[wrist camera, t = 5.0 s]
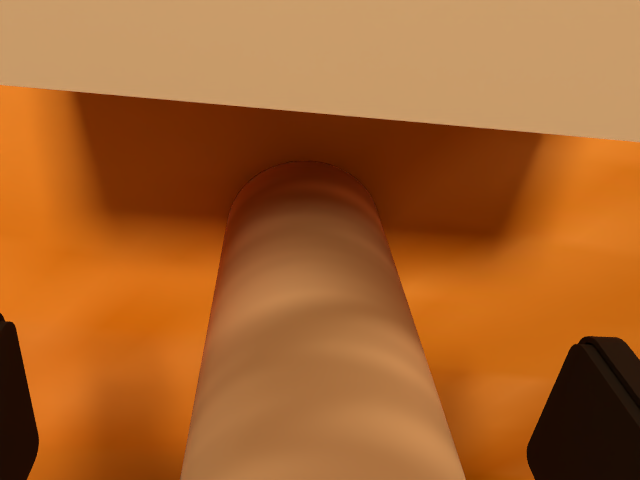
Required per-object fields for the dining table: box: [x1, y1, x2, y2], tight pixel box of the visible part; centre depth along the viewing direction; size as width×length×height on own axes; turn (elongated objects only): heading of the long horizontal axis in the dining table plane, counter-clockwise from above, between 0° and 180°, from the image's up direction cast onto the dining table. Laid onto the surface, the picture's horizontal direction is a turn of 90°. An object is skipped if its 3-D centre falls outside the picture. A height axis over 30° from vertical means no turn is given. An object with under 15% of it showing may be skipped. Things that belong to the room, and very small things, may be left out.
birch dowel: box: [180, 161, 466, 480], centre depth 10 cm, size 4×4×12 cm
